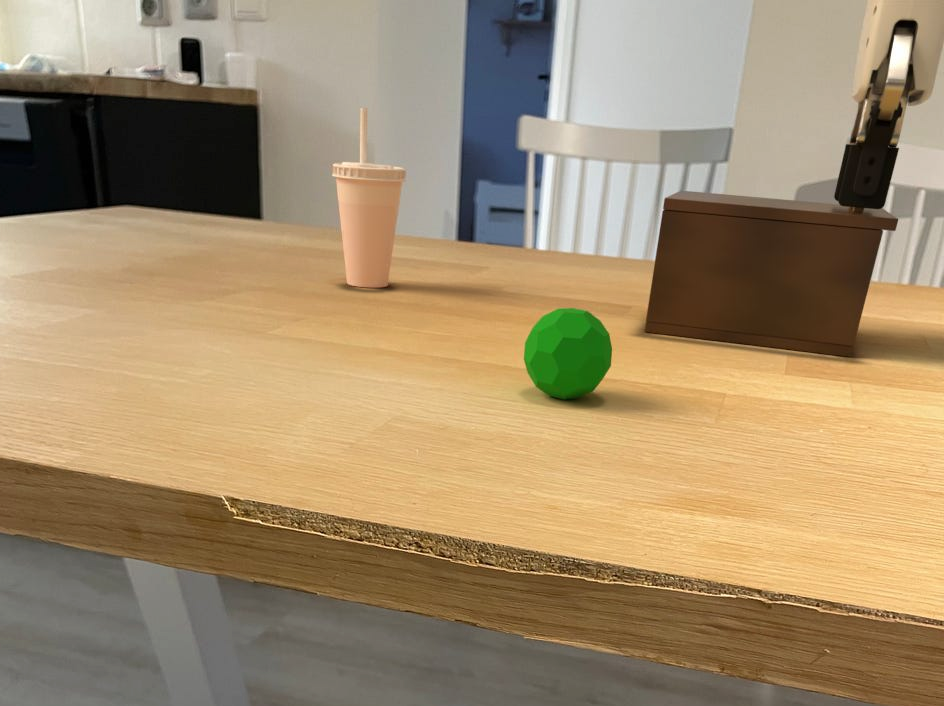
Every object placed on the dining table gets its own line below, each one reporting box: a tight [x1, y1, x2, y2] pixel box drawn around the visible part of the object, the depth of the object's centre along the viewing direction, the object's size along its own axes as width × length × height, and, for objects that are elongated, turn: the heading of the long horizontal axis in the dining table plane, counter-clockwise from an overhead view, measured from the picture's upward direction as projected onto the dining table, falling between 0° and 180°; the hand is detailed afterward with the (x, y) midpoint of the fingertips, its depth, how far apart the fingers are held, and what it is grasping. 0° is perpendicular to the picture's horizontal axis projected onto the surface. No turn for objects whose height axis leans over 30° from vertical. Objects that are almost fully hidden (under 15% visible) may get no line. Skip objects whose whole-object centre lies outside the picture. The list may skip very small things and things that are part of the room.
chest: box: [644, 209, 884, 358], centre depth 76 cm, size 16×13×9 cm
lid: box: [662, 190, 899, 232], centre depth 73 cm, size 16×13×5 cm
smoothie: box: [331, 107, 407, 289], centre depth 83 cm, size 6×6×14 cm
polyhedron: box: [523, 307, 613, 400], centre depth 54 cm, size 5×5×5 cm
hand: (857, 202), depth 72 cm, fingers closed on lid, 6 cm apart
